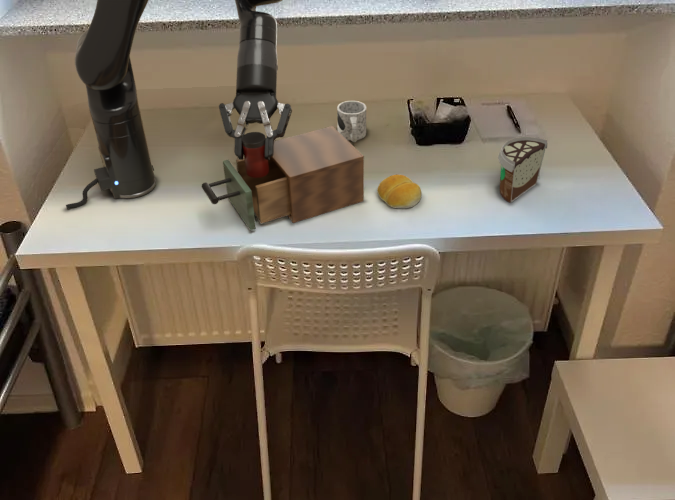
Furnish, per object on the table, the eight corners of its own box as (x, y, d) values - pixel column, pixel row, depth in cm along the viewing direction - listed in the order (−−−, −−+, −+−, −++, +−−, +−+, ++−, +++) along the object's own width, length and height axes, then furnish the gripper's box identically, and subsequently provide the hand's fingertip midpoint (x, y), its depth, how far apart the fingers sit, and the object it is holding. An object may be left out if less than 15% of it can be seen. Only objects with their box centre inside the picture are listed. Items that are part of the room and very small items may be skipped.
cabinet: (293, 223, 137) (289, 177, 131) (266, 188, 147) (262, 144, 140) (363, 201, 143) (363, 156, 136) (333, 169, 152) (332, 125, 145)
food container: (515, 170, 150) (522, 128, 144) (540, 181, 147) (548, 139, 141) (481, 194, 144) (486, 151, 137) (506, 206, 140) (513, 163, 134)
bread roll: (397, 215, 139) (397, 198, 136) (371, 193, 145) (371, 177, 142) (430, 201, 142) (431, 185, 139) (404, 181, 148) (404, 164, 145)
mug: (336, 127, 166) (336, 101, 162) (364, 125, 167) (364, 99, 162) (339, 148, 159) (339, 122, 154) (369, 147, 159) (369, 120, 155)
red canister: (244, 177, 133) (239, 143, 129) (248, 165, 137) (243, 131, 132) (267, 177, 133) (263, 143, 128) (270, 165, 136) (266, 131, 132)
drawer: (221, 239, 132) (215, 201, 127) (200, 205, 141) (194, 168, 135) (318, 209, 139) (317, 171, 134) (293, 179, 148) (290, 142, 142)
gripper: (214, 62, 129) (211, 154, 128) (292, 62, 128) (289, 154, 127) (223, 76, 137) (220, 163, 135) (297, 76, 136) (294, 163, 134)
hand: (254, 158), depth 131 cm, fingers closed on red canister, 4 cm apart
